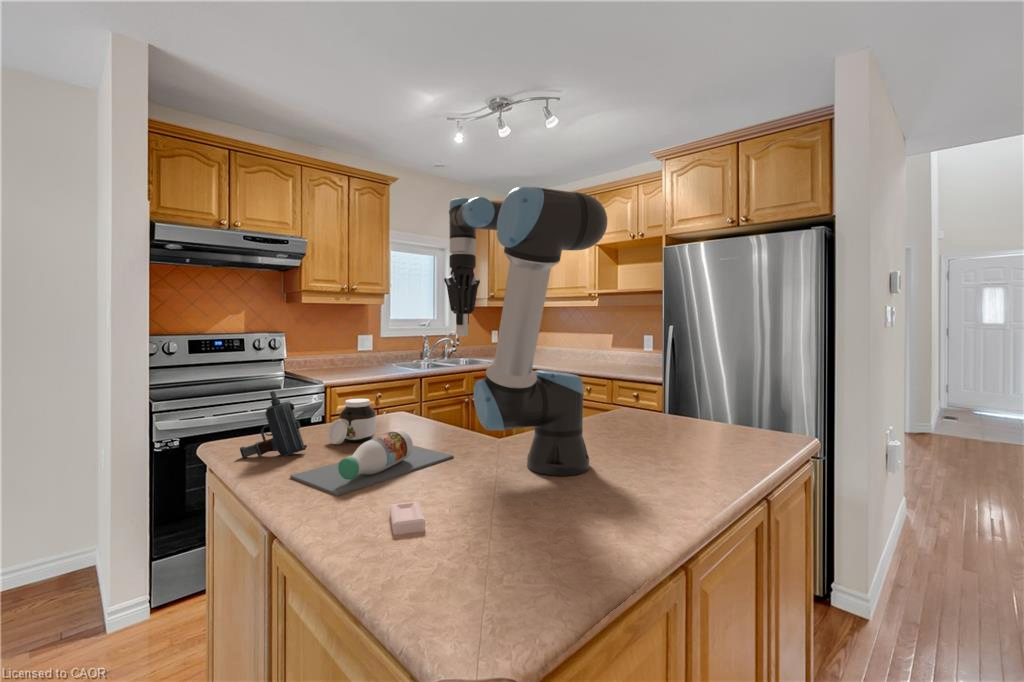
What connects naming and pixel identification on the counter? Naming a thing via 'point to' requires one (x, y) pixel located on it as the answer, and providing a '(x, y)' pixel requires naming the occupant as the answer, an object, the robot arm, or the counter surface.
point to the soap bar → (407, 518)
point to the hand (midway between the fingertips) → (462, 336)
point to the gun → (278, 431)
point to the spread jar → (354, 423)
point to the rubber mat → (337, 485)
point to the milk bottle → (377, 454)
